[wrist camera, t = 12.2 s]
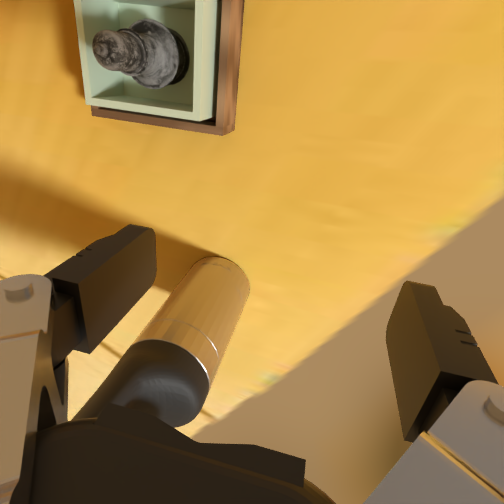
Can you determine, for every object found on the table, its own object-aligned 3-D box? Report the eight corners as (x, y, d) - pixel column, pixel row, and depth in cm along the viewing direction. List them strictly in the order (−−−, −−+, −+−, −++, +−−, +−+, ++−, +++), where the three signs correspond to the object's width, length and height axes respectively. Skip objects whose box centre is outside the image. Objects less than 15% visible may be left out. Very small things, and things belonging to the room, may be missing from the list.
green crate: (220, 114, 37) (199, 121, 32) (122, 100, 39) (85, 104, 33) (226, 5, 33) (203, -11, 27) (114, -6, 34) (70, -22, 29)
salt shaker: (170, 100, 37) (106, 109, 27) (130, 56, 36) (47, 49, 26) (203, 57, 35) (146, 49, 24) (161, 8, 33) (83, -22, 23)
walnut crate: (234, 130, 39) (222, 135, 35) (115, 112, 41) (92, 115, 37) (245, -11, 32) (232, -24, 28) (104, -23, 35) (74, -36, 31)
